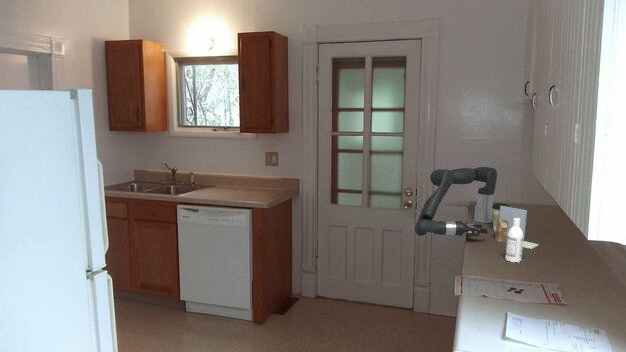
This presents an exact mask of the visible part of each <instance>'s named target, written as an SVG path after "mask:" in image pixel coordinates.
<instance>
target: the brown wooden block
mask: <svg viewBox="0 0 626 352" xmlns="http://www.w3.org/2000/svg"><path fill="white" fill-rule="evenodd" d="M508 224H509V222H508V221H506V220H497V225H496V231H495V238H494V240H495V241H496V242H497V243H507V235H508Z"/></svg>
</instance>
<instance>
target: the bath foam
mask: <svg viewBox="0 0 626 352" xmlns="http://www.w3.org/2000/svg"><path fill="white" fill-rule="evenodd" d="M523 241H524V240H523V232H522V230H521V228H520V219H519V218H514V220H513V226H512V228H511V229H510V230H509V232H508V235H507V242H506V246H505V247H506V248H505V257H504V258H505V260H506V261H508V262H509V261H510V263H515V262H517V263H521V262H522V257H523V248H524V247H523ZM520 261H521V262H520Z"/></svg>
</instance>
